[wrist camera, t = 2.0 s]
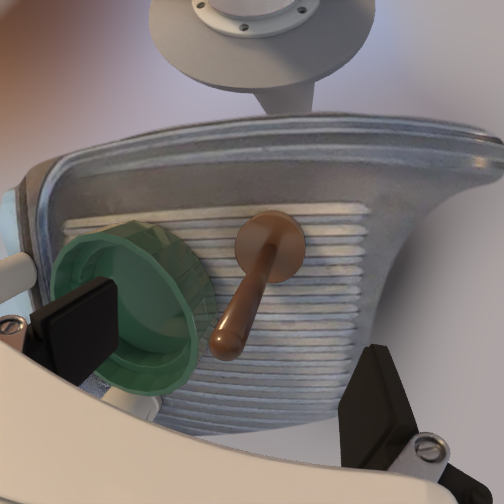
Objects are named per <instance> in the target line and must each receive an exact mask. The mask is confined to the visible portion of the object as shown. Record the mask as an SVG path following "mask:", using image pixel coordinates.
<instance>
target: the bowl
mask: <svg viewBox="0 0 504 504" xmlns="http://www.w3.org/2000/svg"><path fill="white" fill-rule="evenodd" d="M98 276H104V277H107V278H110V279H113V280H114V282H115V284H116V285H117V287H118V328H119V346H118V348H117V350H116V351H115V352H114V353H113V354H112V355H111V356H109V357H108V358H107V359H106V360H105V361H104V362H103V363H102V364H101V365H100V366H99V367H98V368H97V369H96V370H95V371H94V372H93V373H94V374H95V375H97V376H98V377H99V378H101V379H102V380H103V381H105V382H106V383H107V384H109V385H111V386H113V387H116V388H118V389H120V390H122V391H125V392H127V393H130V394H135V395H141V396H147V397H153V396H159V395H166V394H170V393H172V392H173V391H175V390H176V389H178V388H180V387H181V386H183V385H184V384H186V382H187V381H188V379H189V377H190V376H191V374H192V372H193V371H194V369H195V367H196V366H197V364H198V362H199V360H200V358H201V357H202V355H203V353H204V351H205V350H206V348H207V346H208V344H209V338H210V336H211V334H212V332H213V331H214V329H215V327H216V320H217V313H218V309H217V304H216V299H215V294H214V288H213V284H212V282H211V281H210V279H209V277H208V275H207V273H206V271H205V269H204V267H203V265H202V263H201V261H200V260H199V258H198V257H197V256H196V255H195V254H194V253H193V252H192V251H191V250H190V249H189V248H188V247H187V246H186V244H185V243H184V242H183V241H182V240H181V239H179V238H178V237H176V236H174V235H173V234H171V233H169V232H168V231H166V230H164V229H163V228H161V227H159V226H157V225H153V224H149V223H144V222H139V221H134V220H133V221H127V222H121V223H115V224H112V225H109V226H106V227H102V228H99V229H96V230H93V231H90V232H88V233H85V234H82V235H79V236H77V237H76V238H74V239H73V240H72V241H70V242H69V243H68V244H67V245H65V246H64V247H63V248H62V250H61V251H60V253H59V255H58V257H57V259H56V261H55V263H54V265H53V268H52V275H51V282H50V292H51V301H54V300H56V299H58V298H59V297H61V296H63V295H65V294H67V293H68V292H70V291H72V290H74V289H76V288H78V287H79V286H81V285H83V284H85V283H87V282H89V281H90V280H92V279H94V278H96V277H98Z"/></svg>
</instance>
